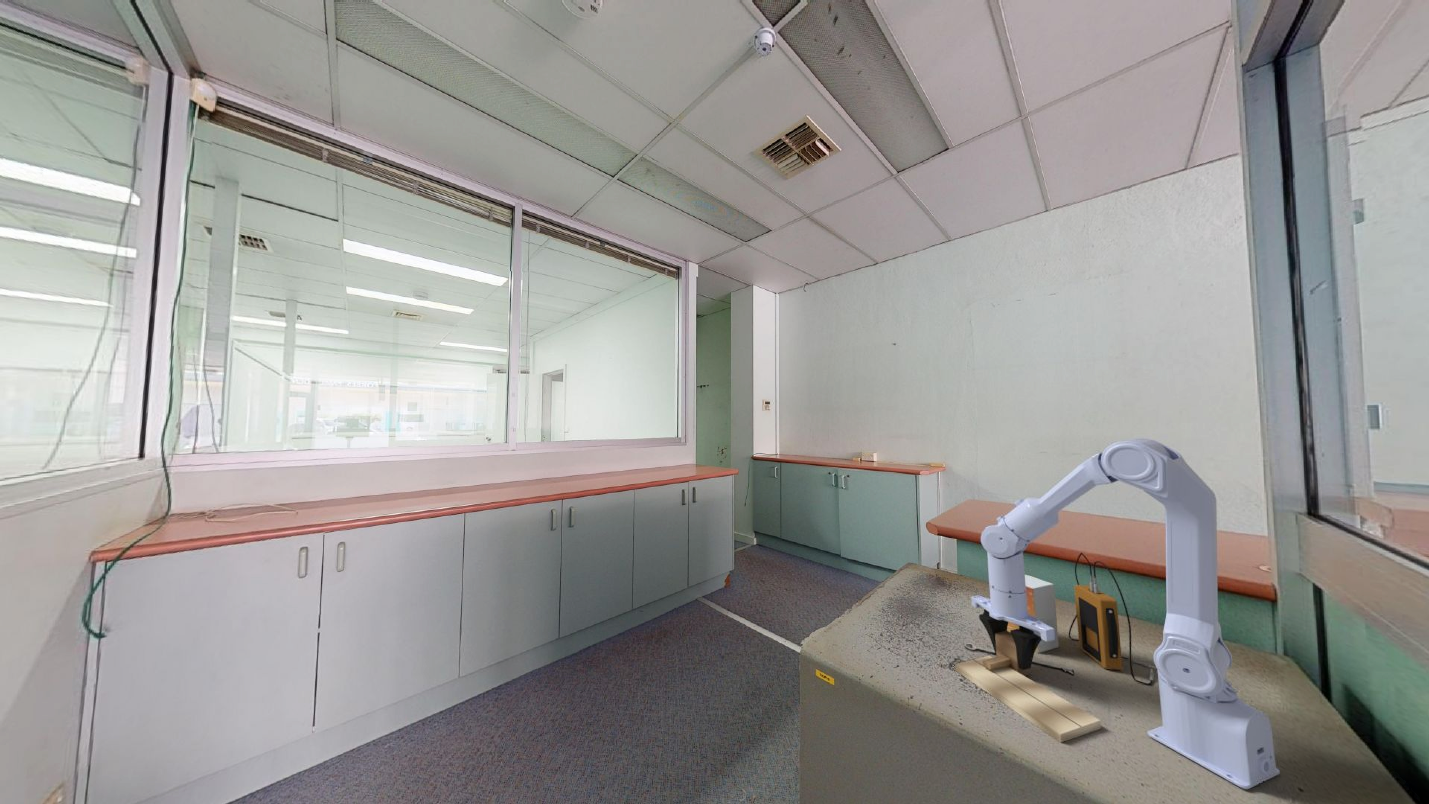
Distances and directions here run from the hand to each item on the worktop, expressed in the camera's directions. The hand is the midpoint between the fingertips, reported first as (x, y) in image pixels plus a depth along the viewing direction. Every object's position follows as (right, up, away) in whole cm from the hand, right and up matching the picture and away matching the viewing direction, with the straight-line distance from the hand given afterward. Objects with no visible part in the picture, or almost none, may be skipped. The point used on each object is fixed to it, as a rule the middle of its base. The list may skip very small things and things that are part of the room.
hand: (1012, 660), depth 75 cm
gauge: (-2, -2, -1) cm, 3 cm away
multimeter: (+22, -1, +1) cm, 22 cm away
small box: (+10, -2, +9) cm, 14 cm away
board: (-4, -1, -7) cm, 9 cm away
